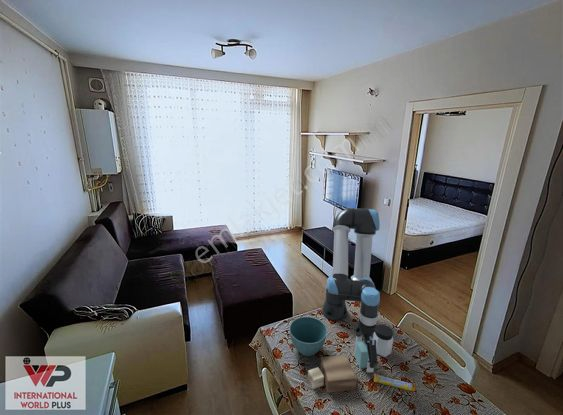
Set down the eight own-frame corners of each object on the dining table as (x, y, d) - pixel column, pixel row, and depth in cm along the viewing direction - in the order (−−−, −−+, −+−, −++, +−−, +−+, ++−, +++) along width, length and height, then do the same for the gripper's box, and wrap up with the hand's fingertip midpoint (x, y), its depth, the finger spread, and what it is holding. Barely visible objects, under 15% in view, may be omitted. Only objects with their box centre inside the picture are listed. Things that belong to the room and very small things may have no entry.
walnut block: (320, 367, 119) (321, 357, 118) (345, 365, 120) (346, 354, 119) (327, 392, 108) (328, 381, 106) (355, 389, 109) (356, 378, 107)
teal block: (354, 357, 125) (356, 342, 122) (366, 356, 125) (368, 341, 123) (359, 368, 119) (361, 352, 117) (372, 366, 120) (374, 351, 117)
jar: (383, 359, 124) (385, 339, 120) (369, 348, 130) (371, 328, 127) (394, 351, 128) (397, 331, 125) (380, 341, 135) (382, 321, 132)
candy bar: (414, 385, 111) (414, 381, 111) (415, 394, 108) (416, 390, 107) (373, 374, 116) (373, 371, 116) (373, 383, 112) (373, 379, 112)
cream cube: (307, 379, 114) (308, 370, 112) (317, 375, 115) (318, 366, 114) (313, 389, 109) (313, 380, 108) (323, 385, 111) (324, 376, 109)
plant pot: (283, 356, 125) (283, 335, 122) (297, 331, 141) (298, 312, 138) (318, 370, 118) (320, 348, 114) (330, 343, 133) (331, 323, 130)
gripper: (349, 304, 128) (346, 339, 133) (372, 342, 104) (367, 384, 109) (364, 303, 128) (360, 338, 134) (389, 341, 104) (384, 382, 110)
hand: (363, 359), depth 122 cm, fingers open, 13 cm apart
